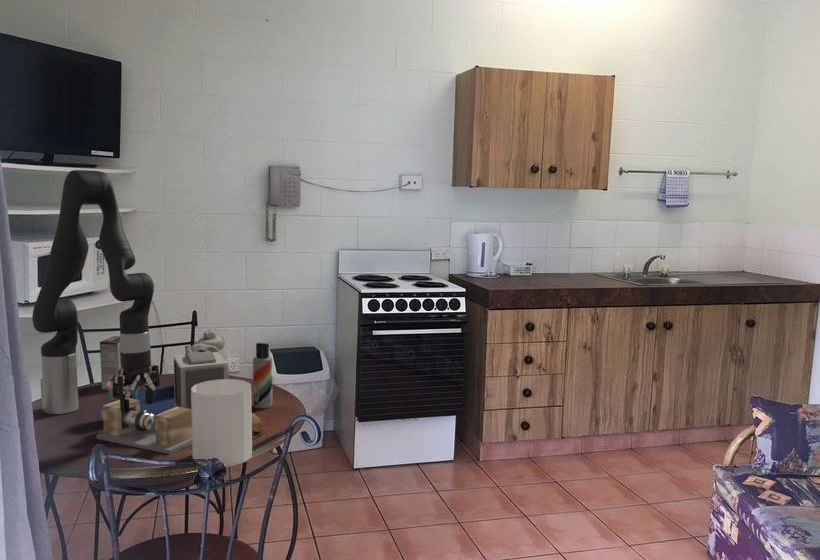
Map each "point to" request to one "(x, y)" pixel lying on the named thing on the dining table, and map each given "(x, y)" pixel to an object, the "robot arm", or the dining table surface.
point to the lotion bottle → (262, 377)
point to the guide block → (117, 417)
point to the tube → (138, 419)
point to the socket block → (173, 426)
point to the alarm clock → (196, 373)
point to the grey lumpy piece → (208, 344)
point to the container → (222, 421)
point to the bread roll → (256, 426)
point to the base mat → (143, 441)
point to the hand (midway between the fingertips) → (137, 408)
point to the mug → (132, 395)
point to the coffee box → (110, 359)
